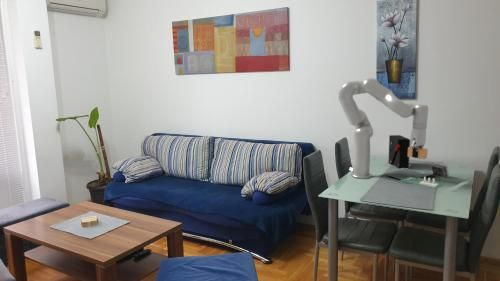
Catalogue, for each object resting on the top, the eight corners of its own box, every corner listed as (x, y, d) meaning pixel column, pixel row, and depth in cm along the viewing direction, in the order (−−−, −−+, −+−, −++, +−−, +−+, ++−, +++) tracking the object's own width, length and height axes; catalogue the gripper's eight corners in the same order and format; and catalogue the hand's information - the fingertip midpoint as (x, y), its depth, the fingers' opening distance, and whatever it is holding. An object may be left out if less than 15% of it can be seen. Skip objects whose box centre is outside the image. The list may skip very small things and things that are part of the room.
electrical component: (411, 168, 263) (412, 139, 259) (396, 168, 263) (397, 139, 260) (401, 162, 280) (402, 135, 277) (387, 162, 280) (388, 135, 277)
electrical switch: (449, 179, 234) (449, 164, 233) (442, 181, 233) (442, 166, 231) (437, 176, 243) (437, 161, 241) (430, 177, 242) (430, 163, 240)
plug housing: (407, 156, 231) (408, 147, 230) (411, 155, 234) (411, 146, 233) (423, 159, 224) (424, 149, 223) (426, 158, 227) (427, 148, 226)
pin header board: (398, 183, 230) (399, 173, 229) (410, 178, 238) (411, 169, 238) (436, 191, 213) (436, 181, 212) (447, 185, 222) (448, 176, 221)
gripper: (420, 124, 234) (417, 153, 237) (406, 126, 223) (403, 157, 227) (432, 125, 228) (430, 156, 232) (418, 128, 218) (416, 160, 221)
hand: (417, 156), depth 229 cm, fingers closed on plug housing, 4 cm apart
